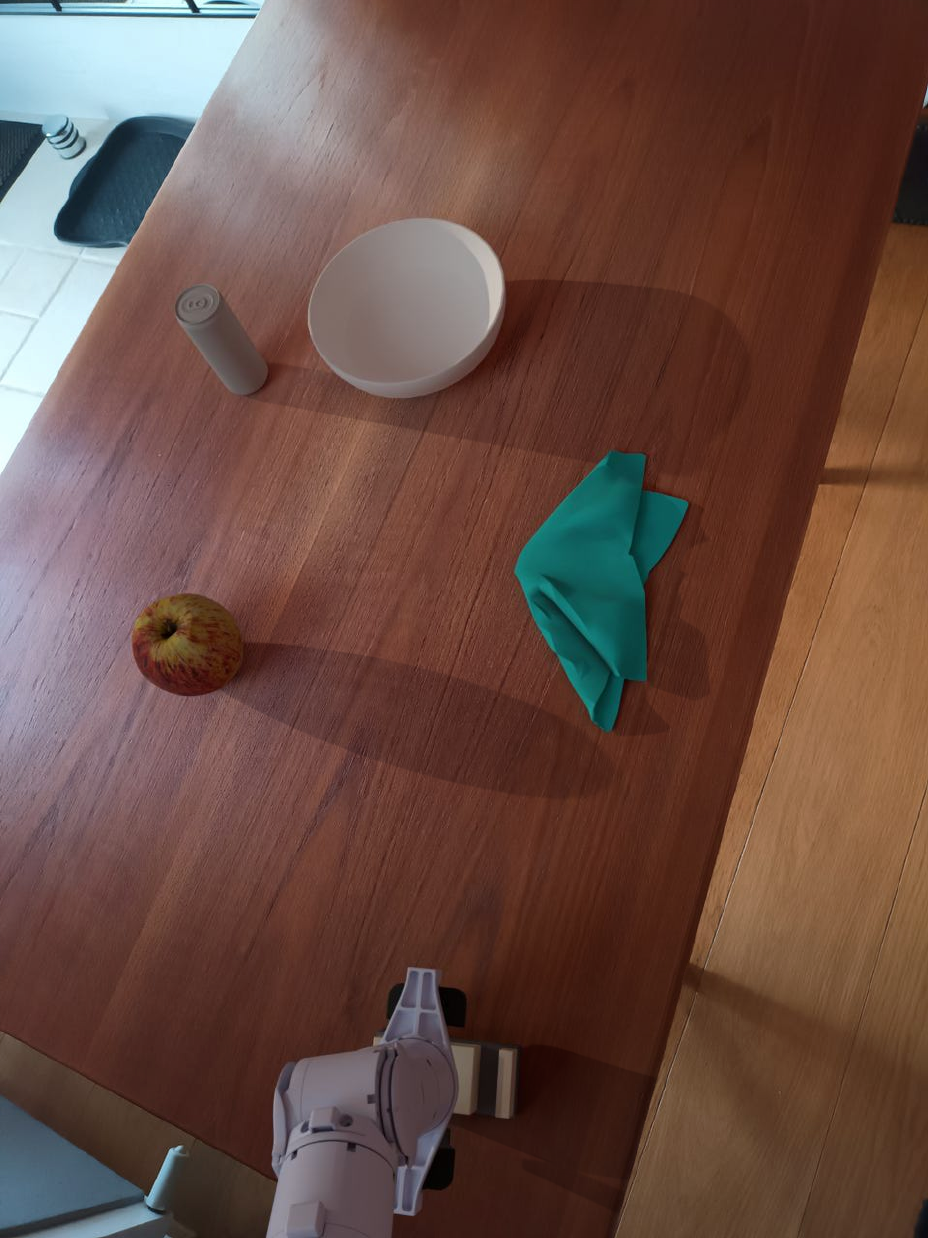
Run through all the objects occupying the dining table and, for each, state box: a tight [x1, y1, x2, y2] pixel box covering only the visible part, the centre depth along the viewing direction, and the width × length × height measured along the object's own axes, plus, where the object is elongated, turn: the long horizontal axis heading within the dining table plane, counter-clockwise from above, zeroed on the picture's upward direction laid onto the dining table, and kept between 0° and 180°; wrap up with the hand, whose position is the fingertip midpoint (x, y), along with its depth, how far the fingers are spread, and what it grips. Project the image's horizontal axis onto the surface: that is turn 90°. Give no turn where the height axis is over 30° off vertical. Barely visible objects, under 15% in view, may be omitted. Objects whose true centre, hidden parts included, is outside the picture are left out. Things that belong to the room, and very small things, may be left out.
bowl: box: [307, 217, 507, 399], centre depth 94 cm, size 20×20×6 cm
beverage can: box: [173, 282, 269, 396], centre depth 94 cm, size 5×5×12 cm
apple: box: [131, 592, 244, 697], centre depth 84 cm, size 9×9×10 cm
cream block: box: [372, 1030, 522, 1120], centre depth 70 cm, size 11×5×4 cm, turn 85°
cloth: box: [514, 449, 689, 732], centre depth 83 cm, size 26×14×2 cm, turn 162°
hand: (440, 1074), depth 71 cm, fingers open, 7 cm apart
